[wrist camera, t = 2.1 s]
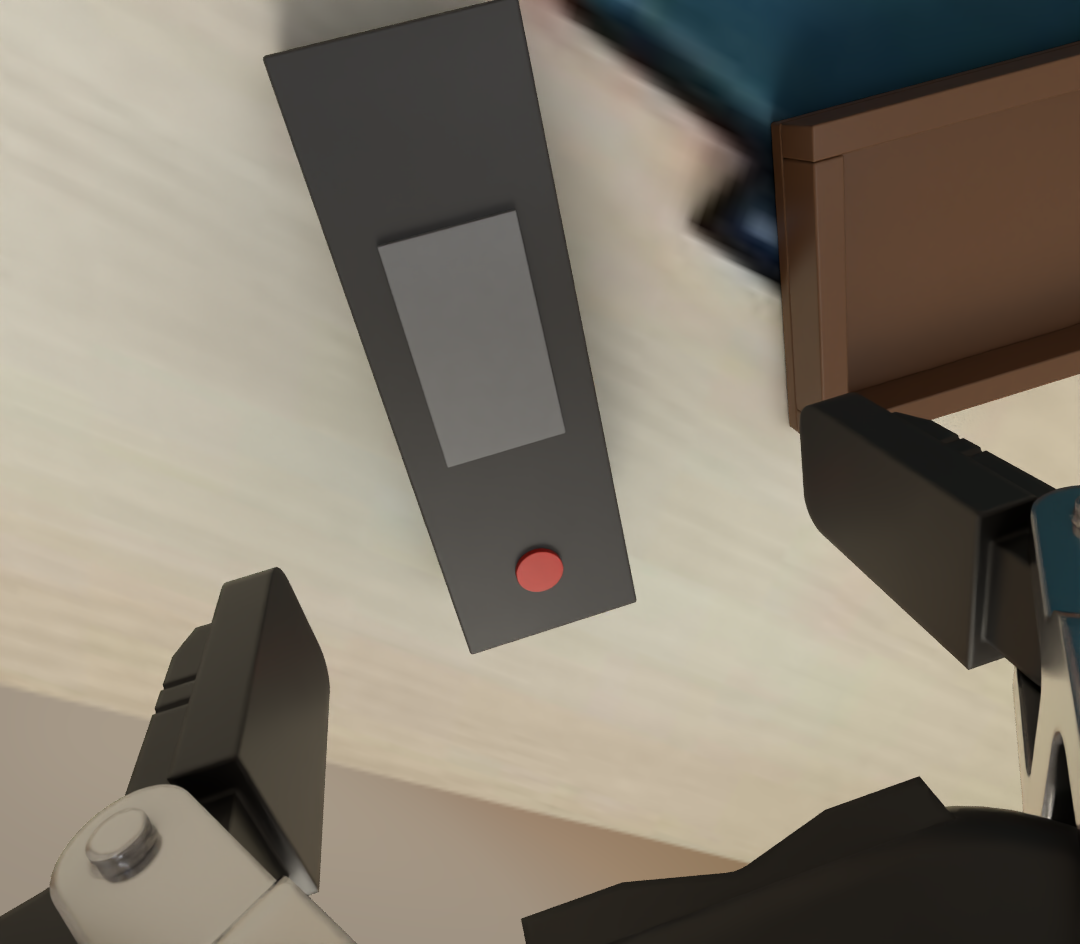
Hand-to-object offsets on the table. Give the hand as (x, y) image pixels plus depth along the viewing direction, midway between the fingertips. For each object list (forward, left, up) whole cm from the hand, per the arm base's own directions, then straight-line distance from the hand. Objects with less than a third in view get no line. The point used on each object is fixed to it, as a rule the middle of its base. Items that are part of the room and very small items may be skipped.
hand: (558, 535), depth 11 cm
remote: (0, 0, -10) cm, 10 cm away
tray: (+1, +18, -10) cm, 20 cm away
